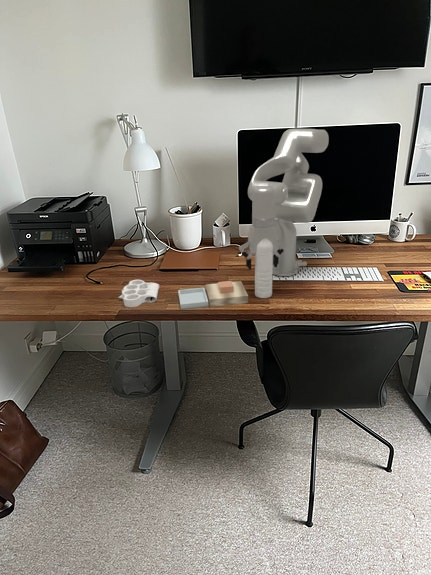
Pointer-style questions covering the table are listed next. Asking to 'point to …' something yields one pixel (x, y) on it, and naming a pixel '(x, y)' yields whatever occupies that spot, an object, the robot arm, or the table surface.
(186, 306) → the box
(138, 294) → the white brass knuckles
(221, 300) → the birch plate
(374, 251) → the table surface
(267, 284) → the water bottle
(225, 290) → the terracotta tile
